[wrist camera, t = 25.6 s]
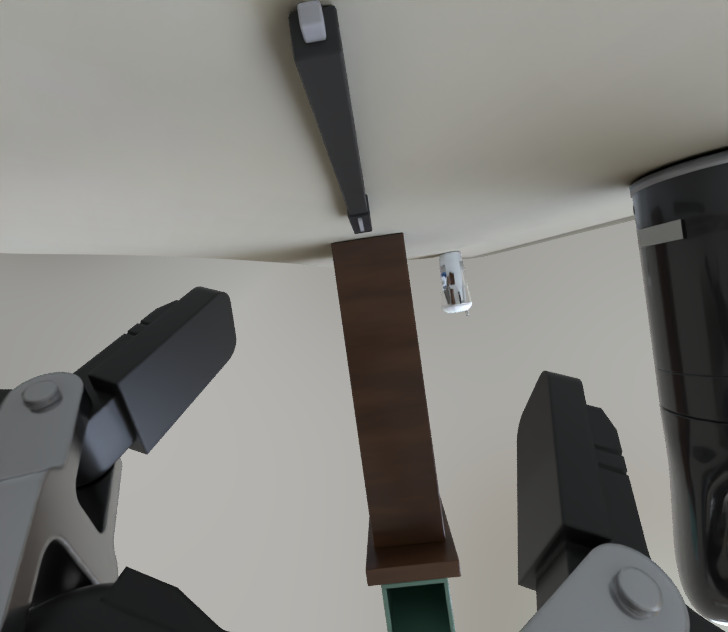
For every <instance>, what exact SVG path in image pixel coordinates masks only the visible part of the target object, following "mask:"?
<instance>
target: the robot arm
mask: <svg viewBox="0 0 728 632" xmlns="http://www.w3.org/2000/svg"><path fill="white" fill-rule="evenodd" d="M630 195H631V198H633V211H634V215H635V221H636V228H637V236H638V244H639V251H640V258H641V266H642V273H643V281H644V289H645V295H646V303H647V311H648V318H649V326H650V334H651V341H652V349H653V356H654V364H655V372H656V379H657V386H658V394H659V402H660V411H661V417H662V423H663V429H664V435H665V442H666V448H667V456H668V463H669V471H670V487H671V503H672V519H673V536H674V546H675V556H676V562H677V567H678V572H679V577H680V580H681V583H682V587H683V589H684V591H685V594H686V596H687V597H688V599H689V601H690V602H691V604H692V605H693V607H694V608H695V609H696V610H697V611H698V612H699V613H700V614H701V615H702V616H704V617H705V618H707V619H709V620H711V621H714V622H717V623H720V624H724V625H727V626H728V150H726V151H722V152H718V153H714V154H710V155H707V156H703V157H700V158H696V159H693V160H689V161H686V162H683V163H680V164H677V165H674V166H671V167H668V168H665V169H663V170H660V171H657V172H655V173H652V174H650V175H648V176H645V177H643V178H642V179H640V180H638V181H636V182H634V183H633V184H632V185H631V186H630ZM235 345H236V333H235V327H234V321H233V315H232V308H231V302H230V298H229V296H228V294H226V293H225V292H220V291H217V290H212V289H208V288H204V287H196V288H194V289H193V290H191V291H190V292H189V293H187V294H186V295H185V296H184V297H182V298H181V299H180V300H179V301H178V300H176V301H173V302H171V303H169V304H166V305H164V306H162V307H160V308H157V309H155V310H154V311H153V312H152V313H150V314H149V315H148V316H147V317H145V318H144V319H143V320H141V323H140V324H136V325H135V326H134V327H132V328H131V329H130V330H128V333H127V334H123V335H122V336H121V337H119V338H118V339H117V340H116V341H114V342H113V343H112V344H110V345H109V346H108V347H107V348H105V349H104V350H103V351H101V352H100V353H99V354H98V355H96V356H95V357H94V358H92V359H91V360H90V361H89V362H87V363H86V364H85V365H83V366H82V367H81V368H80V369H78V370H77V371H76V372H74V373H73V374H72V373H67V372H54V373H48V374H44V375H40V376H37V377H34V378H32V379H30V380H28V381H26V382H24V383H22V384H20V385H19V386H17V387H16V388H14V389H13V390H11V389H10V390H9V389H8V390H7V389H5V390H3V389H0V632H228V631H225V630H223V629H221V628H220V627H219V626H218V625H217V624H216V623H215V622H213V621H212V620H211V619H210V618H209V617H208V616H207V615H206V614H205V613H204V612H203V611H202V610H201V609H200V608H199V607H197V606H196V605H195V604H194V603H193V602H192V601H191V600H190V599H189V598H188V597H187V596H186V595H184V593H183V592H182V591H180V590H179V589H178V588H177V587H174V586H172V585H170V584H167V583H165V582H162V581H160V580H158V579H155V578H153V577H150V576H148V575H145V574H143V573H141V572H138V571H136V570H133V569H131V568H129V567H126V568H125V569H124V570H123V572H122V573H121V574H120V576H119V577H118V567H117V560H116V556H115V551H114V531H115V522H116V514H117V505H118V496H119V488H120V479H121V470H122V461H121V459H120V457H121V456H122V454H124V452H125V451H126V450H127V449H128V448H130V449H132V450H136V451H138V452H141V453H144V454H148V453H149V452H150V450H152V448H153V447H154V446H155V445H156V444H157V443H158V441H159V440H160V439H161V438H162V437H163V436H164V434H165V433H166V432H167V431H168V430H169V429H170V427H171V426H172V425H173V424H174V423H175V422H176V421H177V419H178V418H179V417H180V416H181V415H182V414H183V412H184V411H185V410H186V409H187V408H188V407H189V406H190V404H191V403H192V402H193V401H194V400H195V398H196V397H197V396H198V395H199V394H200V393H201V392H202V390H203V389H204V388H205V387H206V386H207V385H208V384H209V382H210V381H211V380H212V379H213V378H214V377H215V376H216V374H217V373H218V372H219V371H220V370H221V369H222V367H223V366H224V365H225V364H226V363H227V362H228V360H229V359H230V358H231V356H232V354H233V352H234V349H235ZM626 472H627V468H626V464H625V461H624V457H623V456H622V449H621V445H620V441H619V437H618V433H617V430H616V428H615V427H614V426H613V424H612V423H611V421H610V420H609V418H608V417H607V416H606V414H605V413H604V411H603V410H602V409H601V408H598V407H594V406H589V405H586V400H585V396H584V391H583V385H582V382H581V381H580V379H577V378H573V377H569V376H565V375H561V374H557V373H552V372H548V371H543V372H542V373H541V375H540V377H539V379H538V381H537V383H536V385H535V388H534V390H533V392H532V394H531V396H530V398H529V400H528V403H527V405H526V407H525V409H524V411H523V414H522V416H521V419H520V423H519V427H518V434H517V499H518V500H517V501H518V585H521V586H524V587H526V588H529V589H532V590H535V591H536V594H537V612H536V613H535V615H534V616H533V617H532V618H531V619H530V620H529V621H528V623H527V624H526V625H525V626H524V627H523V628H522V629H521V631H520V632H725V631H723V630H722V629H720V628H719V627H717V626H715V625H714V624H712V623H711V622H709V621H707V620H706V619H704V618H703V617H702V616H700V615H698V614H697V613H696V612H694V611H693V610H692V609H691V608H689V607H688V606H687V605H686V604H685V602H684V600H683V598H682V596H681V594H680V592H679V591H678V589H677V587H676V586H675V584H674V583H673V582H672V580H671V579H670V578H669V577H668V575H667V574H666V573H665V572H664V571H663V570H662V569H661V568H660V567H659V566H658V565H657V564H656V563H654V562H653V561H652V560H651V558H650V556H649V552H648V549H647V546H646V542H645V538H644V534H643V530H642V526H641V522H640V519H639V515H638V511H637V507H636V503H635V499H634V495H633V492H632V488H631V484H630V480H629V476H628V475H626Z"/></svg>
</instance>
